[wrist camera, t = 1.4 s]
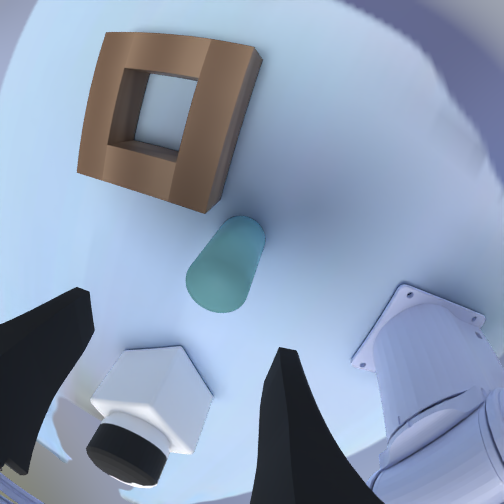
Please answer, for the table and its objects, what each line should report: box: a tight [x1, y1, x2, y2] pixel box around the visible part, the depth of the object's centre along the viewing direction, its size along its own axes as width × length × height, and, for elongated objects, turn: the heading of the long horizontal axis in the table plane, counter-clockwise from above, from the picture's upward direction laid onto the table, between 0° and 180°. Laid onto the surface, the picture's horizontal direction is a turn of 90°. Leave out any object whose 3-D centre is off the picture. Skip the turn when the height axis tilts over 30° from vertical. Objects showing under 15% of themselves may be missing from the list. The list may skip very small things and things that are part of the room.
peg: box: [186, 216, 265, 313], centre depth 16 cm, size 3×3×6 cm
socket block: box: [77, 32, 263, 214], centre depth 15 cm, size 9×9×3 cm
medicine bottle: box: [86, 346, 213, 488], centre depth 21 cm, size 7×7×12 cm
